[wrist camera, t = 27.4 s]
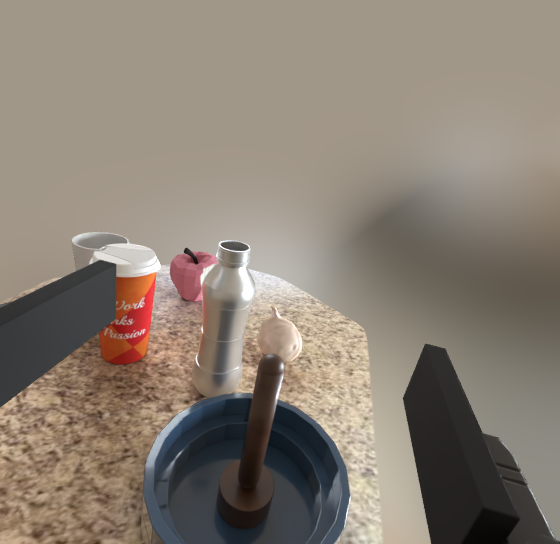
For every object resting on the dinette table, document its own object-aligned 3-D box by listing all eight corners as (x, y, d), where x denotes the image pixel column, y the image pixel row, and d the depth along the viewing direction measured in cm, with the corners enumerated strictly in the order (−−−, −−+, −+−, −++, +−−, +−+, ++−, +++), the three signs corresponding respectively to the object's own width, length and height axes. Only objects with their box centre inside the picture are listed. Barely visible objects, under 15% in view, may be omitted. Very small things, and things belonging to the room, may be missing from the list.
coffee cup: (78, 362, 46) (73, 257, 41) (112, 330, 54) (112, 237, 48) (140, 375, 46) (143, 271, 41) (165, 341, 54) (171, 249, 48)
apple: (186, 313, 62) (191, 261, 58) (157, 294, 67) (160, 244, 63) (226, 299, 69) (232, 252, 66) (197, 283, 74) (202, 238, 70)
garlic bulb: (292, 346, 59) (301, 304, 56) (301, 371, 53) (312, 326, 50) (253, 344, 57) (260, 301, 54) (258, 370, 51) (266, 323, 48)
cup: (63, 313, 56) (58, 242, 51) (94, 292, 63) (92, 228, 58) (111, 324, 55) (111, 253, 51) (136, 302, 63) (138, 238, 58)
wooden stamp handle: (214, 479, 34) (236, 337, 28) (263, 473, 36) (295, 337, 30) (219, 533, 30) (247, 379, 24) (276, 524, 31) (315, 377, 25)
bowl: (149, 436, 38) (151, 397, 36) (300, 424, 43) (310, 389, 41) (130, 660, 23) (131, 614, 21) (368, 599, 28) (388, 557, 26)
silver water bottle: (182, 398, 44) (195, 248, 36) (200, 366, 50) (216, 232, 43) (232, 411, 43) (256, 262, 36) (244, 376, 50) (267, 243, 42)
